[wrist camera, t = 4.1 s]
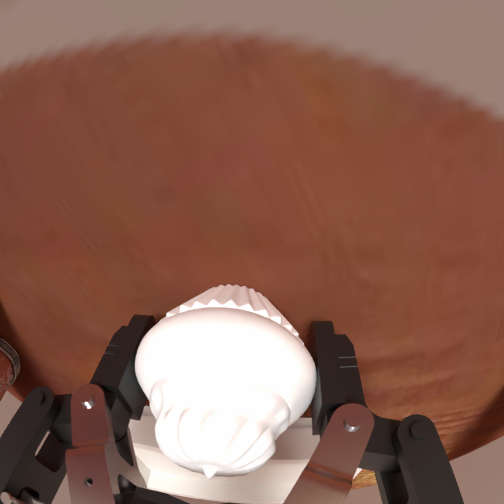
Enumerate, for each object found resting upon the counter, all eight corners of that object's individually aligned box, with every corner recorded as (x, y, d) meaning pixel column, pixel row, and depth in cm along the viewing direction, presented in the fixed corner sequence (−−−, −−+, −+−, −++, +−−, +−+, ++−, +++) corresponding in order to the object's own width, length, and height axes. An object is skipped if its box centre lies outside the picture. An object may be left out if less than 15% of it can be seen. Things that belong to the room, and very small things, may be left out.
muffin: (135, 294, 12) (66, 436, 6) (250, 219, 10) (220, 413, 4) (225, 374, 15) (205, 502, 9) (335, 329, 13) (357, 484, 7)
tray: (369, 413, 16) (376, 452, 14) (328, 478, 25) (329, 502, 22) (83, 391, 18) (69, 423, 15) (146, 465, 26) (141, 487, 24)
